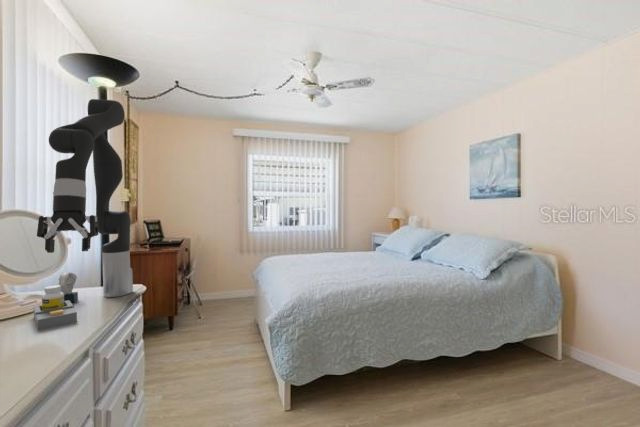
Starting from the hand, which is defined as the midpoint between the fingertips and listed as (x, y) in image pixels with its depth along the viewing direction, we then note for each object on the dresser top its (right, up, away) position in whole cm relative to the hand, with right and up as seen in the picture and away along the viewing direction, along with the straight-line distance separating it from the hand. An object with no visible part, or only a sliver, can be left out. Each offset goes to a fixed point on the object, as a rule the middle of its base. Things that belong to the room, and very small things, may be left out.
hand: (67, 251), depth 91 cm
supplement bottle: (-13, -22, +11) cm, 28 cm away
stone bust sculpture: (-20, -22, +25) cm, 39 cm away
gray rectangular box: (-13, -22, +10) cm, 28 cm away
